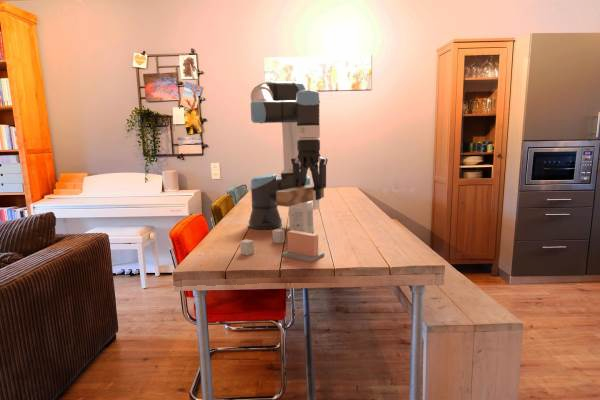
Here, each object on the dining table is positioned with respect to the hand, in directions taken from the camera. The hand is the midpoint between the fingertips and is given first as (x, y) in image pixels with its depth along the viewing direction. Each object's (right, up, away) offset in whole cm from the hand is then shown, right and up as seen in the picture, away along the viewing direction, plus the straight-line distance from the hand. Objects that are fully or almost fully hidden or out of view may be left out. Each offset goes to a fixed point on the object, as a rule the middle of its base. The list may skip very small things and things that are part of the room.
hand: (309, 208), depth 122 cm
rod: (-3, +2, -4) cm, 6 cm away
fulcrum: (-2, -16, -1) cm, 16 cm away
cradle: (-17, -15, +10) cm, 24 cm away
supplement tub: (-3, -12, +22) cm, 25 cm away
